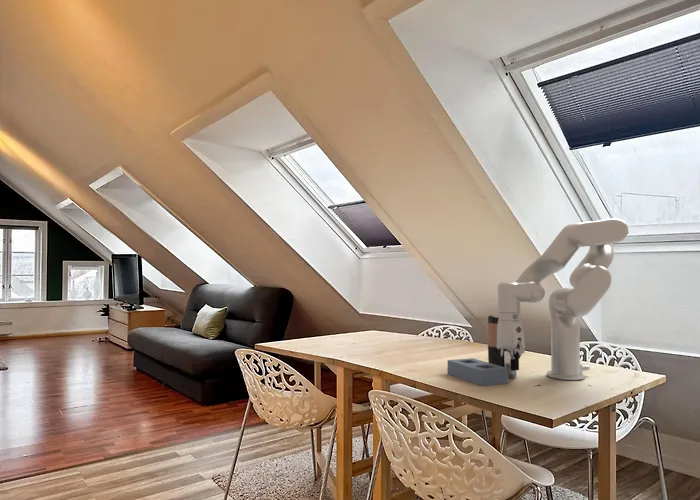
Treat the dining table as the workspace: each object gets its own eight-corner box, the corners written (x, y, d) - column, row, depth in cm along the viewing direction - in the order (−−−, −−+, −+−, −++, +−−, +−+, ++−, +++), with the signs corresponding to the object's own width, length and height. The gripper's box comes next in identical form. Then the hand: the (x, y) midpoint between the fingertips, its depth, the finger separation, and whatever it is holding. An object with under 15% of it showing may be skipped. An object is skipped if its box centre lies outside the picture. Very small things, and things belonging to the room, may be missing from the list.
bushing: (511, 374, 189) (510, 349, 189) (518, 377, 185) (518, 351, 186) (502, 376, 188) (501, 350, 188) (509, 378, 184) (509, 352, 184)
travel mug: (502, 371, 198) (502, 317, 198) (484, 368, 203) (484, 316, 203) (512, 368, 203) (511, 316, 204) (493, 365, 208) (493, 314, 209)
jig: (472, 371, 196) (472, 358, 196) (508, 383, 178) (508, 368, 178) (447, 373, 192) (447, 360, 192) (480, 385, 174) (480, 370, 174)
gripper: (534, 318, 181) (535, 372, 180) (502, 314, 196) (503, 364, 196) (516, 319, 178) (517, 374, 177) (486, 315, 193) (487, 365, 193)
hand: (510, 368), depth 187 cm, fingers closed on bushing, 4 cm apart
